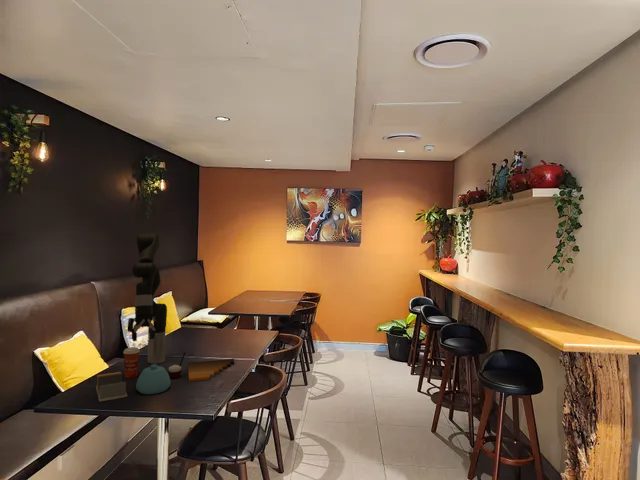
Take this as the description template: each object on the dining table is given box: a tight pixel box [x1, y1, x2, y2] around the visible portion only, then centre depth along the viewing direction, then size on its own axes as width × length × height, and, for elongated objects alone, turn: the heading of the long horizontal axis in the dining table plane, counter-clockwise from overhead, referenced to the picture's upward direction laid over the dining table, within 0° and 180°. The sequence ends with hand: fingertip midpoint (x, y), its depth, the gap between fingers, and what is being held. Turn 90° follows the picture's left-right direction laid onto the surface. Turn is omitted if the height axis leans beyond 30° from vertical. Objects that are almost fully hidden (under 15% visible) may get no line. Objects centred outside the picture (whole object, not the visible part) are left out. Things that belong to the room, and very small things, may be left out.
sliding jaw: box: [96, 371, 122, 387], centre depth 193 cm, size 2×10×5 cm, turn 123°
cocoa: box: [167, 351, 186, 379], centre depth 208 cm, size 10×6×12 cm, turn 95°
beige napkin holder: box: [95, 381, 128, 402], centre depth 187 cm, size 19×11×6 cm, turn 33°
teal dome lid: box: [135, 363, 171, 395], centre depth 191 cm, size 15×15×12 cm
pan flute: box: [187, 358, 235, 382], centre depth 217 cm, size 25×3×25 cm
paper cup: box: [123, 347, 141, 379], centre depth 208 cm, size 8×8×14 cm
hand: (143, 340), depth 189 cm, fingers open, 8 cm apart
